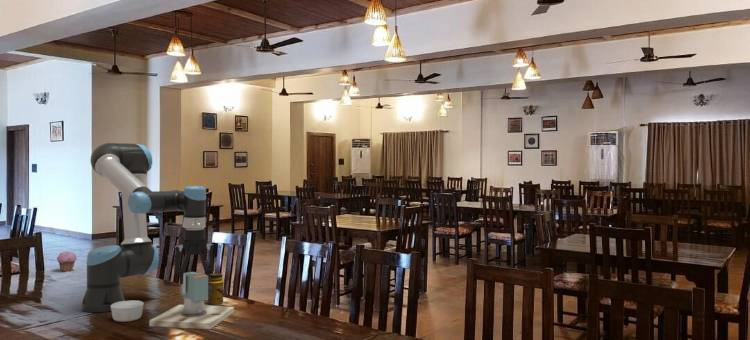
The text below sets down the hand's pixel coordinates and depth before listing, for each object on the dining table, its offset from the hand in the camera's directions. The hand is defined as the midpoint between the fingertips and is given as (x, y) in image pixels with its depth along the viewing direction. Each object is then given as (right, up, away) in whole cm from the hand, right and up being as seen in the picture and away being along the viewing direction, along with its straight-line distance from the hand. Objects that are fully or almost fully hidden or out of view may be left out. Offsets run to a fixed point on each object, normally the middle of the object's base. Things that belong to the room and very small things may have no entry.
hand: (193, 292), depth 202 cm
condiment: (0, -10, +22) cm, 24 cm away
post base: (0, -10, 0) cm, 10 cm away
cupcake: (-93, -8, +84) cm, 125 cm away
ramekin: (-24, -10, 0) cm, 26 cm away
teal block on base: (0, -7, 0) cm, 7 cm away
